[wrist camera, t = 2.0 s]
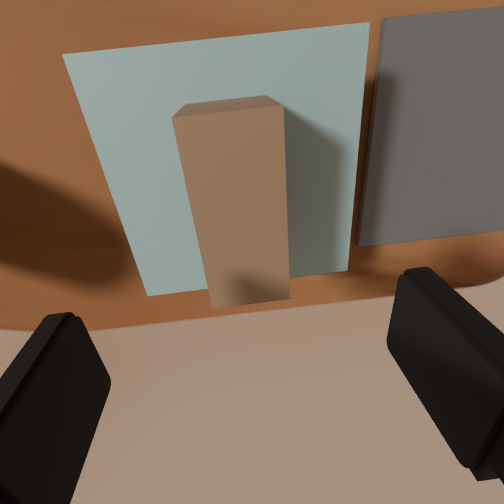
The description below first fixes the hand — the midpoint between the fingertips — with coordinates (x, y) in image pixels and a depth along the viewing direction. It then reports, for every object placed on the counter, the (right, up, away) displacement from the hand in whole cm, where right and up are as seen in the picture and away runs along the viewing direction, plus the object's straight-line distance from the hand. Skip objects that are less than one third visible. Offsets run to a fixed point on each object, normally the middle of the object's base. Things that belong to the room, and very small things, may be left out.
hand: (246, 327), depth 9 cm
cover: (-1, +7, +9) cm, 11 cm away
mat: (+19, +11, +14) cm, 26 cm away
